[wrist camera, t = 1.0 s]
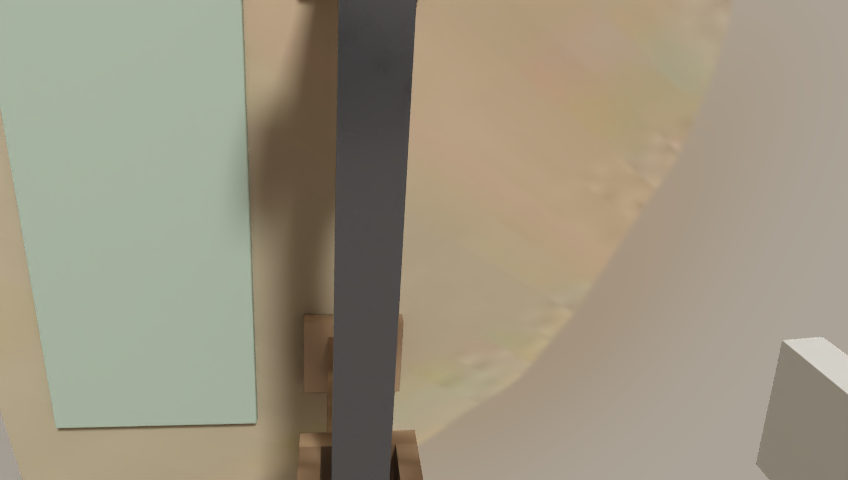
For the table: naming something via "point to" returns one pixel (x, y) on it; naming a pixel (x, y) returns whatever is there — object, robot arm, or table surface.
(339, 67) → the rail
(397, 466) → the hook stand
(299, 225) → the table surface
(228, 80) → the mat
